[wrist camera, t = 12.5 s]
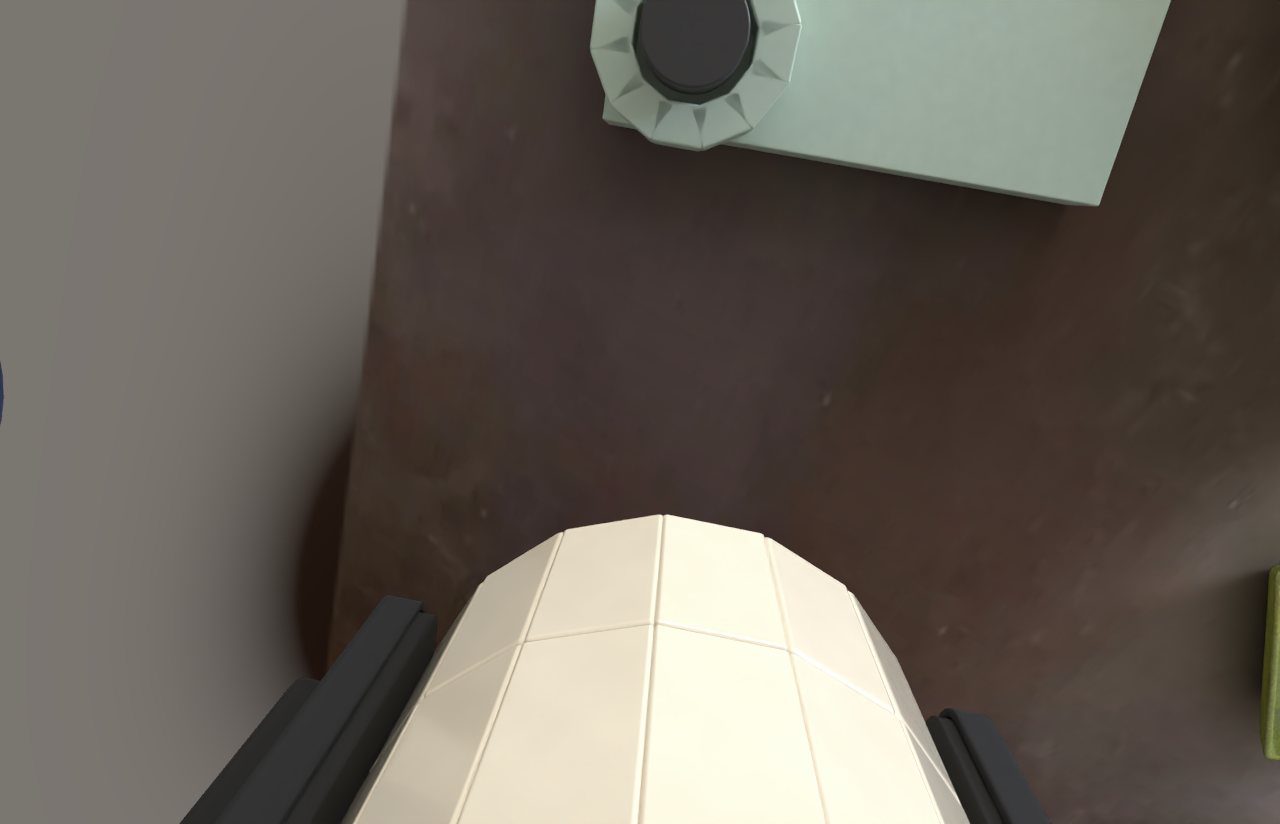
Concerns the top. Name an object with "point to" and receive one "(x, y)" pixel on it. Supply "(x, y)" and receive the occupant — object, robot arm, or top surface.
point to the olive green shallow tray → (1271, 672)
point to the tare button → (694, 41)
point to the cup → (660, 695)
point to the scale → (909, 88)
